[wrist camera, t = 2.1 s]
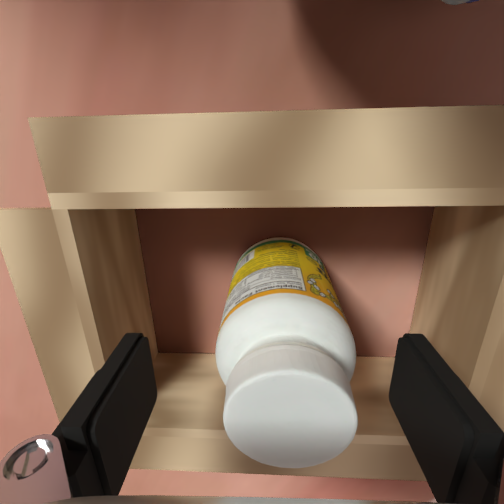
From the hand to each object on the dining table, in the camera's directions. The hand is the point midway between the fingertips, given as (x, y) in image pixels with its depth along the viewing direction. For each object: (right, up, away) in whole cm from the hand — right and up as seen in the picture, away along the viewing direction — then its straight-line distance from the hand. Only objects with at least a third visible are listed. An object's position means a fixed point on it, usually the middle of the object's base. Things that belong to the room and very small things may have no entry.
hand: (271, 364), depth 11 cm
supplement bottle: (+1, +3, +7) cm, 7 cm away
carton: (+1, +3, +6) cm, 7 cm away
